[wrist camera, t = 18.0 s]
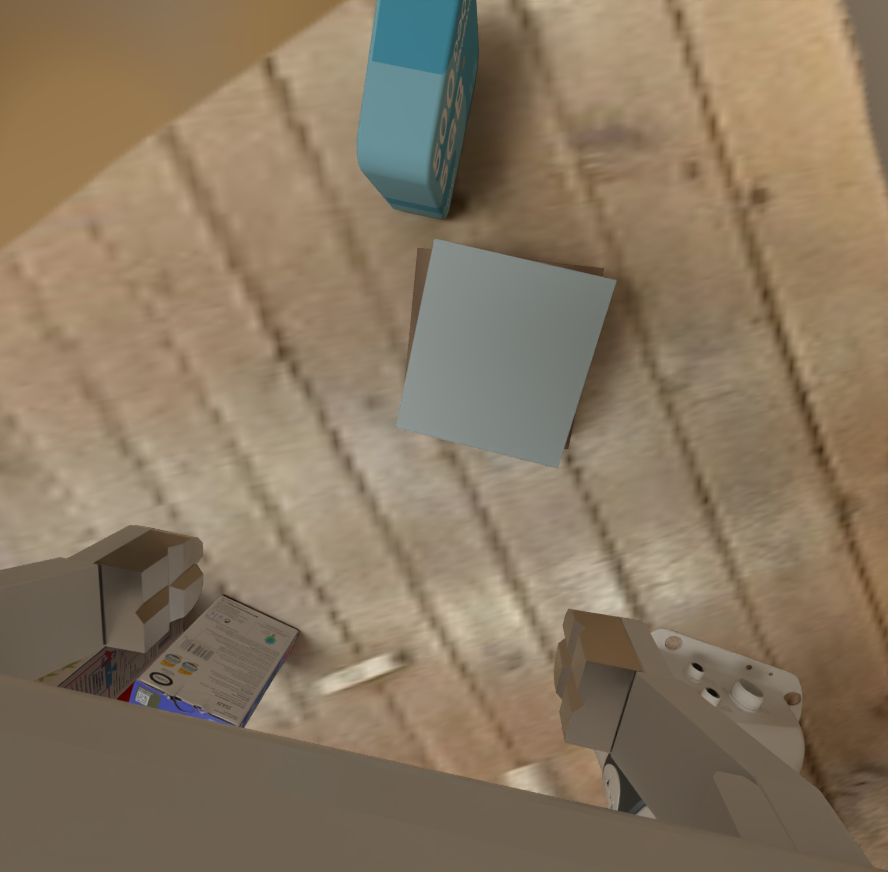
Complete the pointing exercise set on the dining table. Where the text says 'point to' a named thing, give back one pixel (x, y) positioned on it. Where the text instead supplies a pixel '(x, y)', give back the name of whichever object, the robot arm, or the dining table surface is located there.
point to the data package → (418, 101)
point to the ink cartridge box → (218, 665)
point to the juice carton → (110, 667)
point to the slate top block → (501, 352)
